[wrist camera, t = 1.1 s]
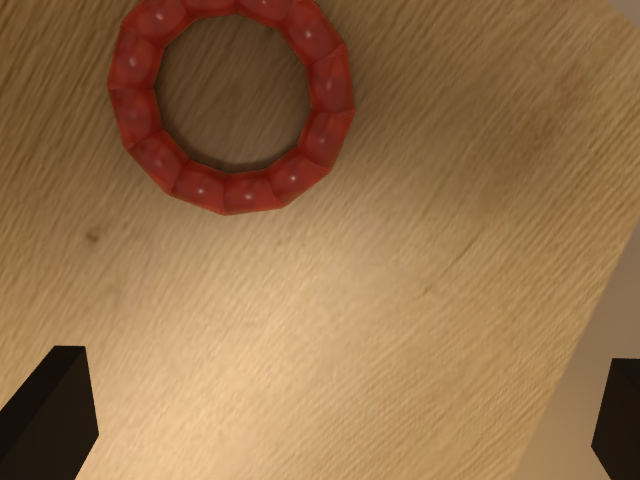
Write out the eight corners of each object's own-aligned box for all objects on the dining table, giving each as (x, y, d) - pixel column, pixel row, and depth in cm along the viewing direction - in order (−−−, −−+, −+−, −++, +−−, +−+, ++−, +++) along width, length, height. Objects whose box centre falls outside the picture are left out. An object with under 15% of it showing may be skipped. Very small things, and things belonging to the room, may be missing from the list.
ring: (95, 158, 28) (78, 168, 26) (154, -76, 24) (140, -83, 22) (302, 236, 30) (300, 250, 28) (389, 26, 26) (394, 26, 24)
